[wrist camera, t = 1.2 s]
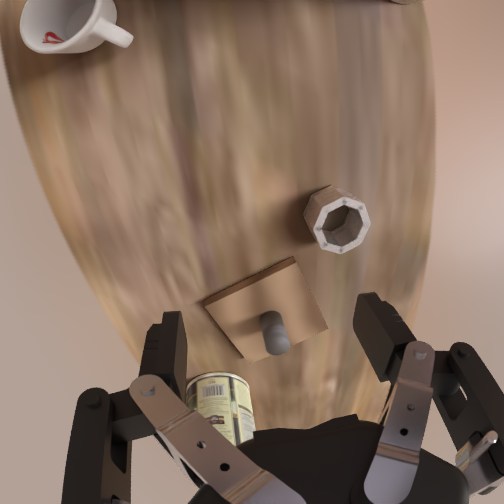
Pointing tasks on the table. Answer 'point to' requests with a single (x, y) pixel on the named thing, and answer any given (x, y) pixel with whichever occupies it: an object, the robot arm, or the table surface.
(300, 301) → the post block
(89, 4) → the cup
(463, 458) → the robot arm
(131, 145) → the table surface
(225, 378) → the coffee can
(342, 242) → the ring
